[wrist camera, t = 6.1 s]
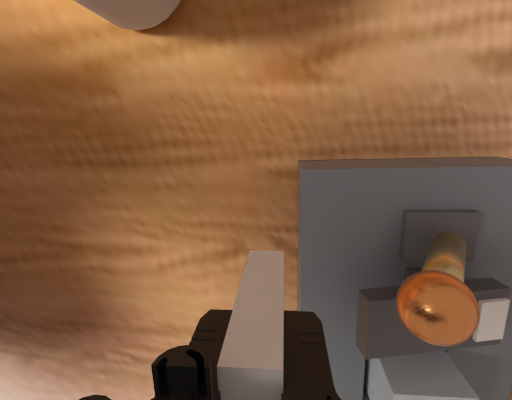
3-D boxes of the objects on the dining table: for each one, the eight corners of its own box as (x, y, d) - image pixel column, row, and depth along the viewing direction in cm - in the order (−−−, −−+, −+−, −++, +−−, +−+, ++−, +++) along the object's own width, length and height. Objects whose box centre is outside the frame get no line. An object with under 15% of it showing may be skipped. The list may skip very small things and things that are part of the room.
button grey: (361, 373, 23) (387, 456, 17) (364, 323, 22) (393, 393, 16) (421, 376, 23) (468, 462, 17) (427, 326, 22) (479, 398, 16)
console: (296, 414, 28) (300, 496, 22) (298, 160, 23) (303, 173, 16) (453, 424, 27) (504, 514, 21) (496, 156, 21) (584, 169, 15)
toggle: (421, 257, 18) (386, 344, 11) (425, 215, 17) (392, 279, 10) (474, 267, 16) (474, 376, 9) (481, 222, 16) (486, 303, 9)
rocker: (355, 344, 17) (367, 363, 16) (358, 289, 16) (371, 304, 15) (482, 330, 18) (504, 347, 17) (491, 277, 17) (515, 290, 16)
